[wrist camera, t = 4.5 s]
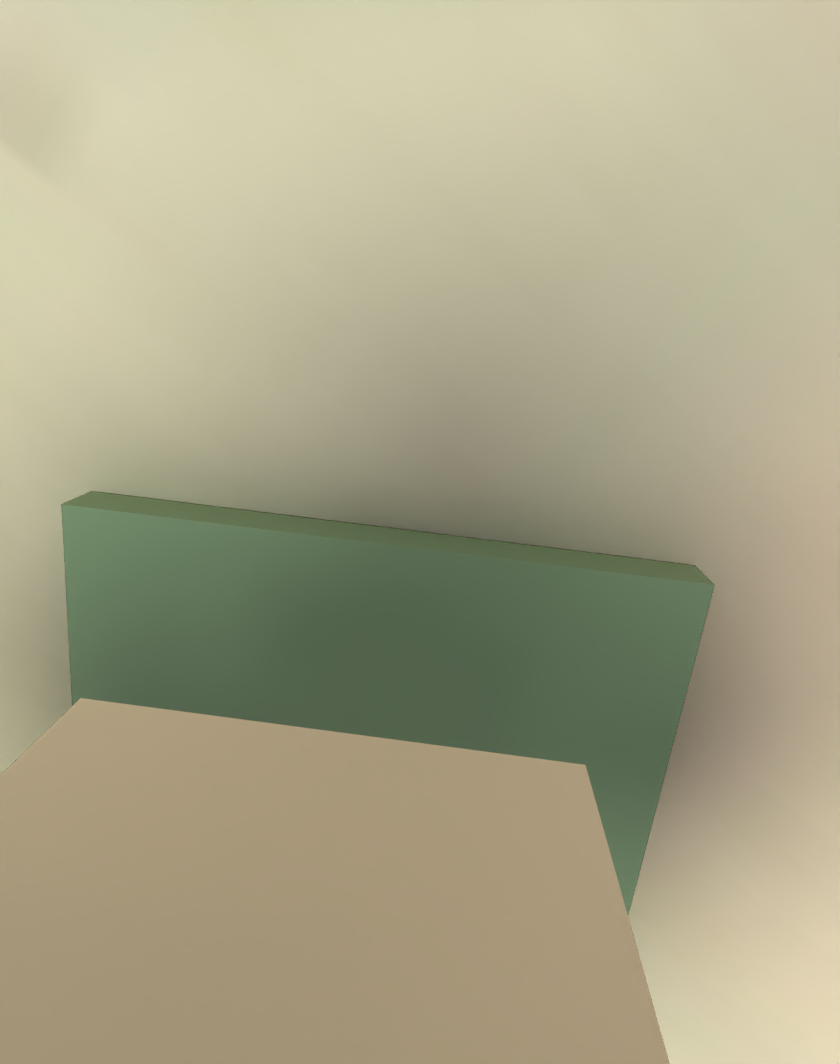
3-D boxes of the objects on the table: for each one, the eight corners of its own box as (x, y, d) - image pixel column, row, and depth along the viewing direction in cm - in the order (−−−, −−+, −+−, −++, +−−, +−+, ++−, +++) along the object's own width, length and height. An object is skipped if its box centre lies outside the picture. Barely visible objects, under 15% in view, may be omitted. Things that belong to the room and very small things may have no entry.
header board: (695, 565, 15) (715, 585, 14) (589, 990, 19) (597, 1035, 18) (91, 491, 15) (59, 504, 14) (108, 923, 19) (85, 963, 18)
